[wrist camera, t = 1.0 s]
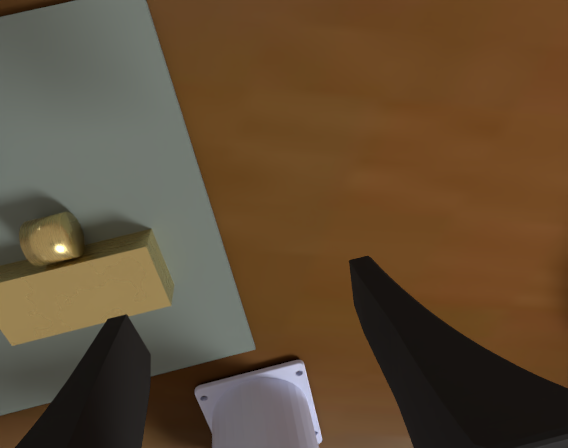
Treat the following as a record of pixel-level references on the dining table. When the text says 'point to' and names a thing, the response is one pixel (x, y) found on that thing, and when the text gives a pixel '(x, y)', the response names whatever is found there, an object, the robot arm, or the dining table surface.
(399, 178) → the dining table surface
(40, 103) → the mat
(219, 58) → the dining table surface
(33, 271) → the tan knobbed block
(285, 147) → the dining table surface
